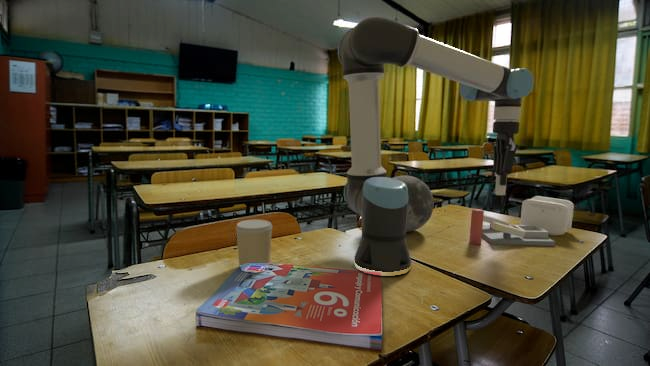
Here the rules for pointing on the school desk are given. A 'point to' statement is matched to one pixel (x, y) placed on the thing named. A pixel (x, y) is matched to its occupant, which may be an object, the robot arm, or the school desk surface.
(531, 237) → the panel
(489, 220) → the block
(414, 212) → the moon model
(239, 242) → the coffee cup
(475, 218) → the red capsule
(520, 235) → the block
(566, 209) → the cable organizer
